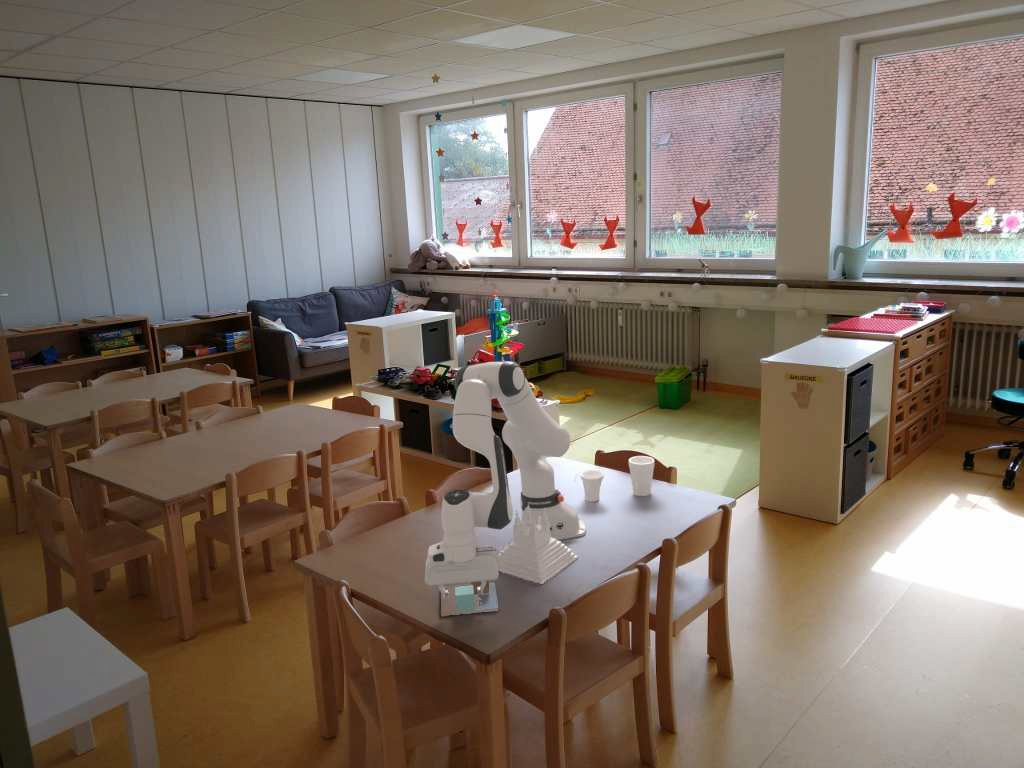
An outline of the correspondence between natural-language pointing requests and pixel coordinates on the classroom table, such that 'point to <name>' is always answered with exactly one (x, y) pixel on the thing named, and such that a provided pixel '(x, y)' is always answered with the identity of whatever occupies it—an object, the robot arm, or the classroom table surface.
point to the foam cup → (641, 474)
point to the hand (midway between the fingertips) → (463, 595)
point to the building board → (489, 599)
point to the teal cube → (465, 598)
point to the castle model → (534, 551)
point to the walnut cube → (478, 584)
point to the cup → (592, 484)
